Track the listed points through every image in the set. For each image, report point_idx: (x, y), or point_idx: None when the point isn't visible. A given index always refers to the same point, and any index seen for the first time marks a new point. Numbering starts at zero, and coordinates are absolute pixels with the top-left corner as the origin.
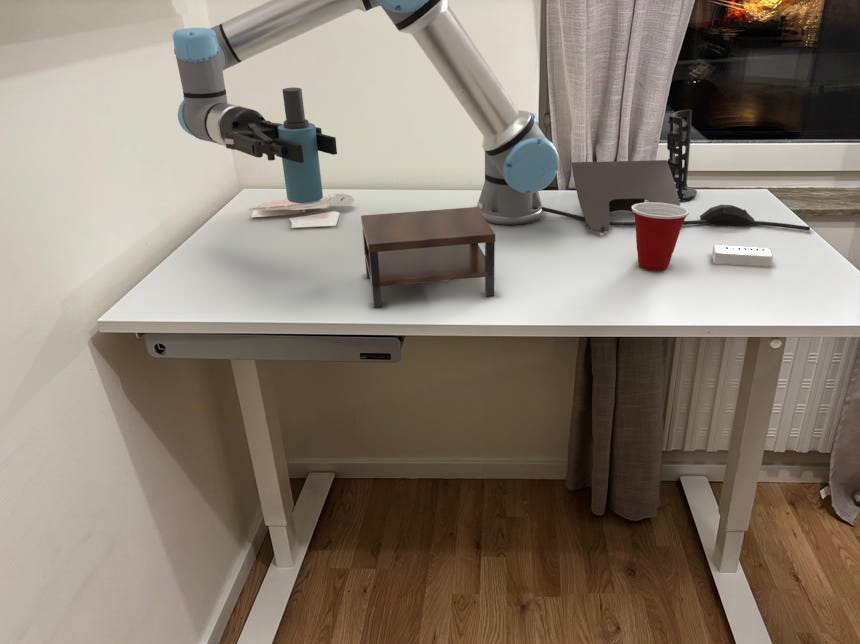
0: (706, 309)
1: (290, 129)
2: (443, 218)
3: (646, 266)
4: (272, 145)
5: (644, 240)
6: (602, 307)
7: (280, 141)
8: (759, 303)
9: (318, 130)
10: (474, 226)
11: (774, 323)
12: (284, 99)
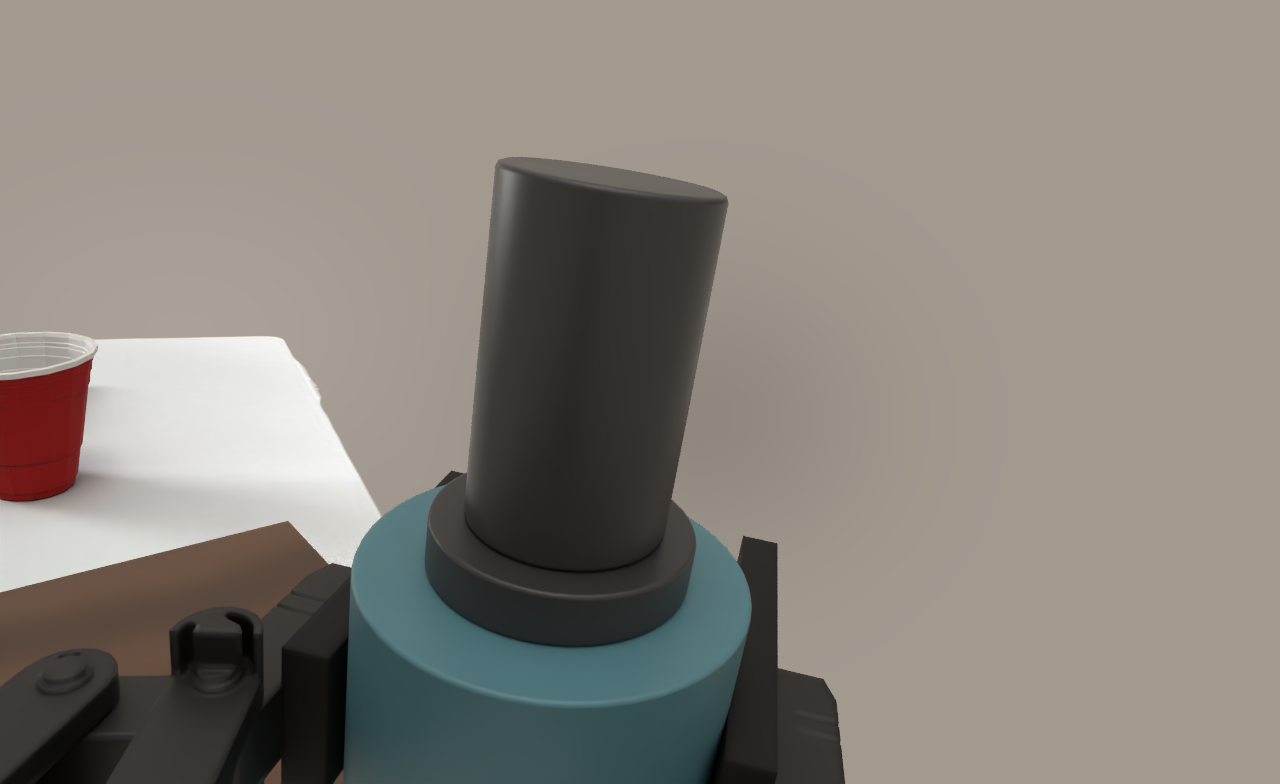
0: (277, 437)
1: (696, 552)
2: (119, 659)
3: (68, 481)
4: (838, 770)
5: (64, 425)
6: (303, 527)
7: (775, 690)
8: (237, 401)
9: (111, 668)
10: (219, 567)
11: (313, 397)
12: (704, 307)
